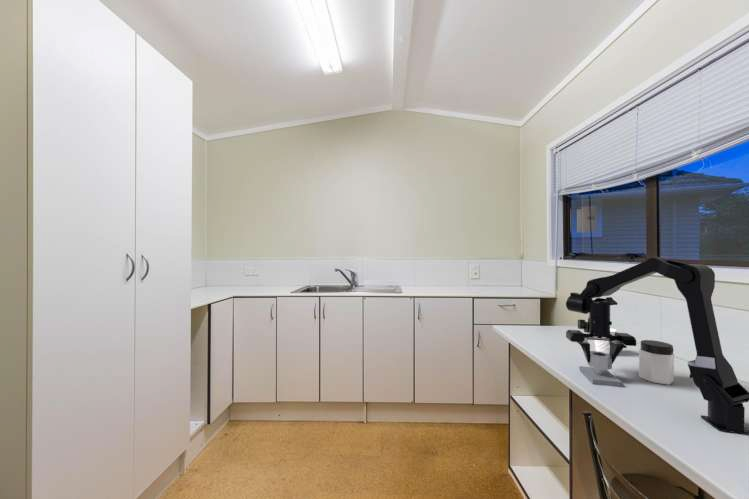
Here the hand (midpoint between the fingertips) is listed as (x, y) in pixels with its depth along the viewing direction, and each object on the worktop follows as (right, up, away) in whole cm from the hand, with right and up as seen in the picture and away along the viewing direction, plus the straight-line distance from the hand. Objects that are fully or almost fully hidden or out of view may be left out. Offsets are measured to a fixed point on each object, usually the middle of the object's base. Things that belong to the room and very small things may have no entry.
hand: (599, 363), depth 108 cm
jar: (+18, -5, -1) cm, 19 cm away
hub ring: (0, -1, 0) cm, 1 cm away
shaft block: (0, -5, 0) cm, 5 cm away
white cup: (+20, -5, +26) cm, 33 cm away
